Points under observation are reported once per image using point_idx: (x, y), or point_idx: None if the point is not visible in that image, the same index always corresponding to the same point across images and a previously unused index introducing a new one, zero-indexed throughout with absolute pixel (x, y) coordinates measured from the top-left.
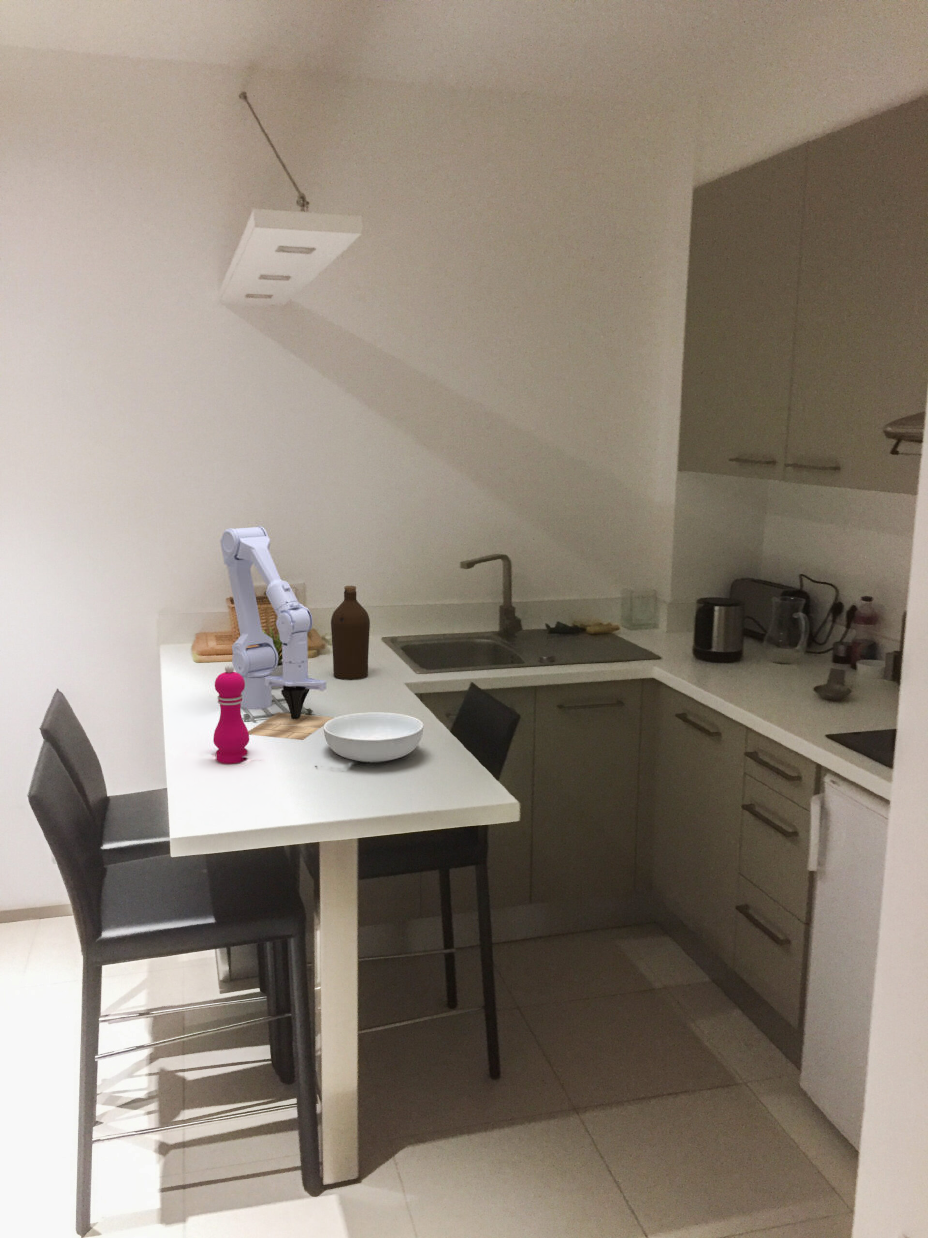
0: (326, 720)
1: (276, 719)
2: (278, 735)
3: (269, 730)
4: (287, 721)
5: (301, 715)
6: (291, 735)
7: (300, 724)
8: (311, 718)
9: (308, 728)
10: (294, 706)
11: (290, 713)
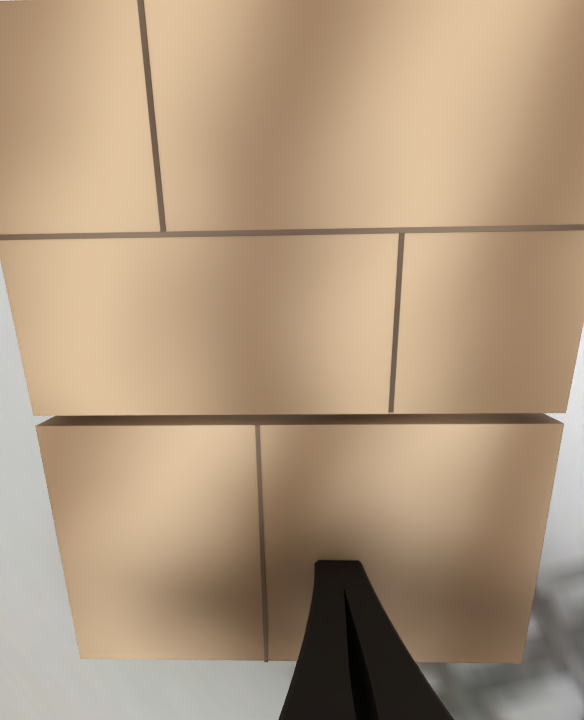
0: (90, 592)
1: (474, 517)
2: (255, 61)
3: (416, 206)
4: (365, 496)
5: None
6: (134, 116)
7: (227, 457)
8: (218, 604)
9: (110, 381)
10: (337, 673)
11: (376, 596)
